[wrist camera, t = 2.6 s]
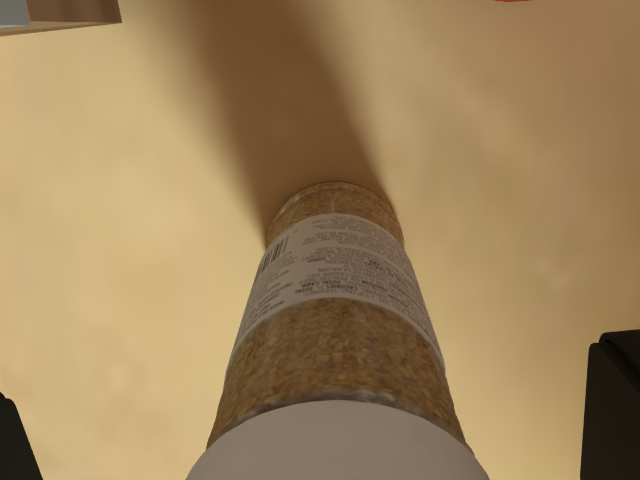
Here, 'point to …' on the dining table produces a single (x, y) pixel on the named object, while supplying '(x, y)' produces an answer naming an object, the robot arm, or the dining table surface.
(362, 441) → the sprinkles bottle
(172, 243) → the dining table surface
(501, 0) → the canned food
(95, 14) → the tower base slab
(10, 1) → the pale grey-blue cube
